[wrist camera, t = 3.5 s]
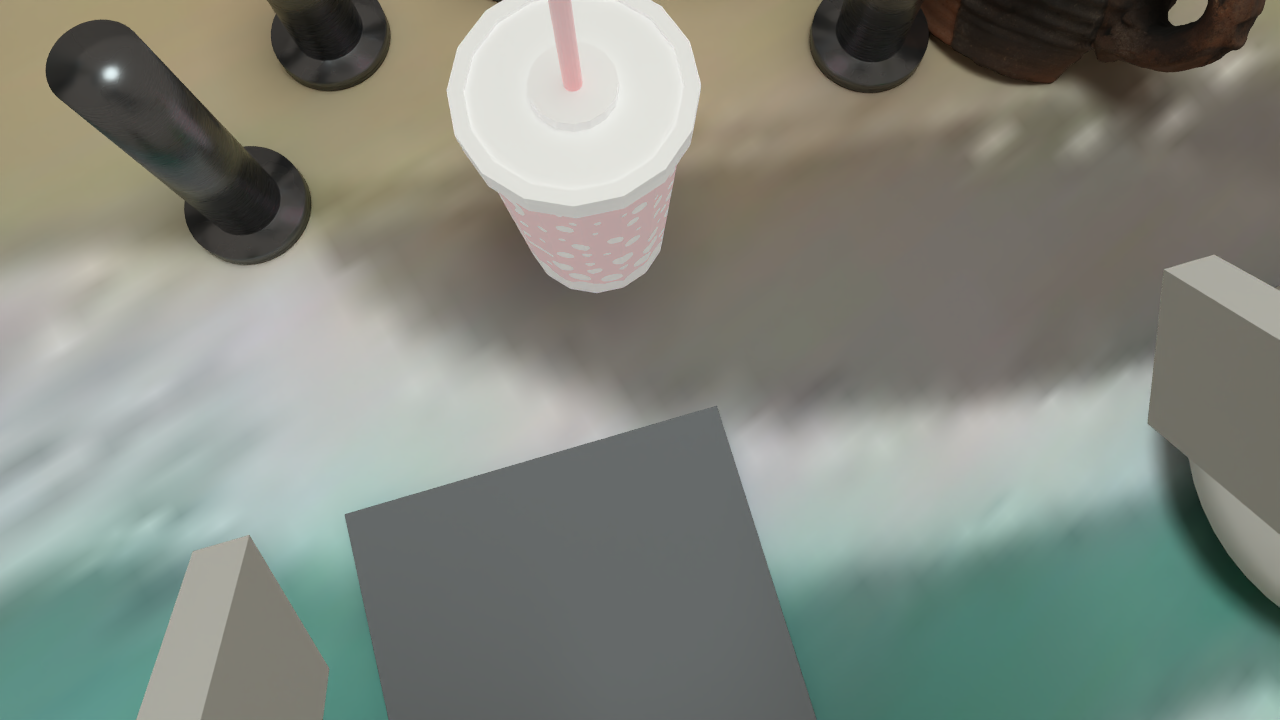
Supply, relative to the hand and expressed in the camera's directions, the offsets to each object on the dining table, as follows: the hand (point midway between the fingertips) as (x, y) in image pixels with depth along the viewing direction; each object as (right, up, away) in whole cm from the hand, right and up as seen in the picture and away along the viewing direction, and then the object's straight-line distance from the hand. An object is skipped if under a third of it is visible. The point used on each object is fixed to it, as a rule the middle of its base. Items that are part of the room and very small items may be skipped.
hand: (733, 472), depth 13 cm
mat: (-3, -7, +15) cm, 16 cm away
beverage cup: (-3, +6, +18) cm, 19 cm away
